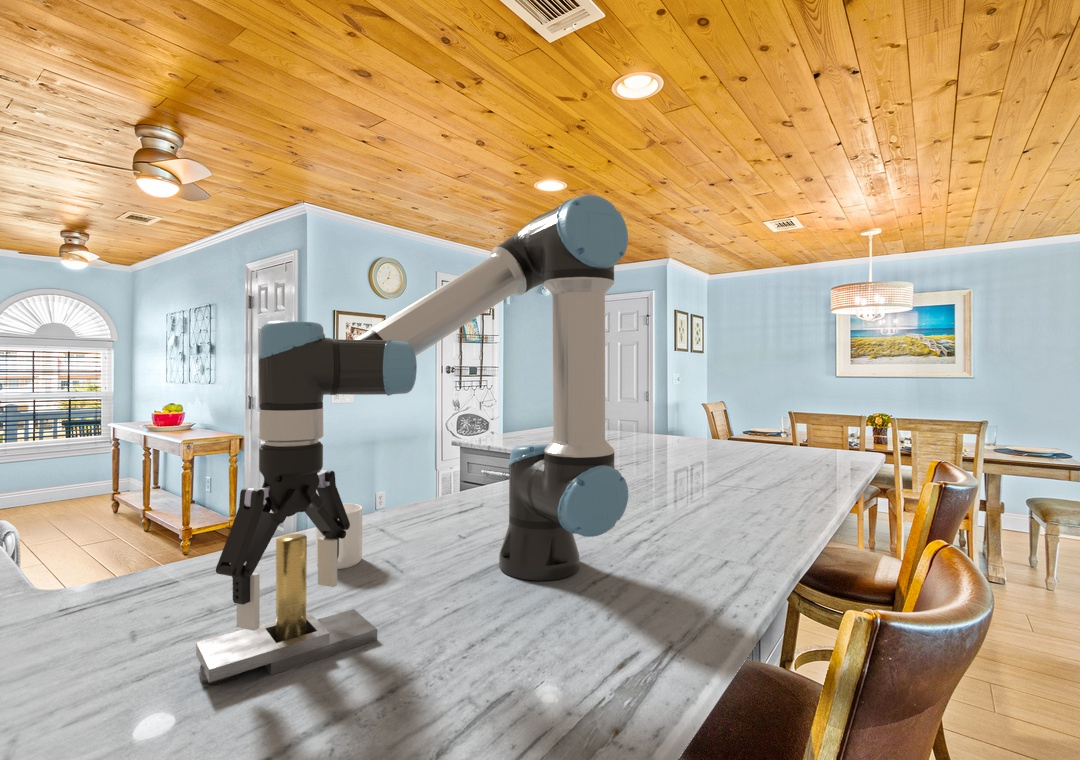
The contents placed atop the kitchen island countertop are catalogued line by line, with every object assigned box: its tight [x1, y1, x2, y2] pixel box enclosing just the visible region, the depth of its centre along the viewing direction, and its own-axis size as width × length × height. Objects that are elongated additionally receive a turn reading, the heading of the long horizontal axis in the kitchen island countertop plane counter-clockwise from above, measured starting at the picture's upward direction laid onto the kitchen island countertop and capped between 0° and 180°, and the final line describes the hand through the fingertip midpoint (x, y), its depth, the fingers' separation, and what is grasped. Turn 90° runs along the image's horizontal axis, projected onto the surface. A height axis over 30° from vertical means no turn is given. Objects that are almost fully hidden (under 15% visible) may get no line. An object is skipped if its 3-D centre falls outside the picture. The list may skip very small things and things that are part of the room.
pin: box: [275, 533, 308, 643], centre depth 72 cm, size 4×4×15 cm
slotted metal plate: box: [195, 608, 378, 686], centre depth 72 cm, size 20×8×3 cm, turn 131°
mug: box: [315, 502, 363, 570], centre depth 103 cm, size 12×8×10 cm
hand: (291, 604), depth 72 cm, fingers open, 13 cm apart
